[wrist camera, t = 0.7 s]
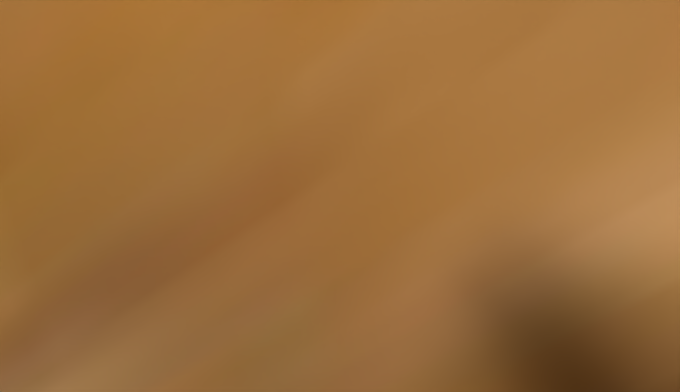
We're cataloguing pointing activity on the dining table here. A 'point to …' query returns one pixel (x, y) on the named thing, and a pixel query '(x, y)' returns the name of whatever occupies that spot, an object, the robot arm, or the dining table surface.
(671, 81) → the dining table surface
